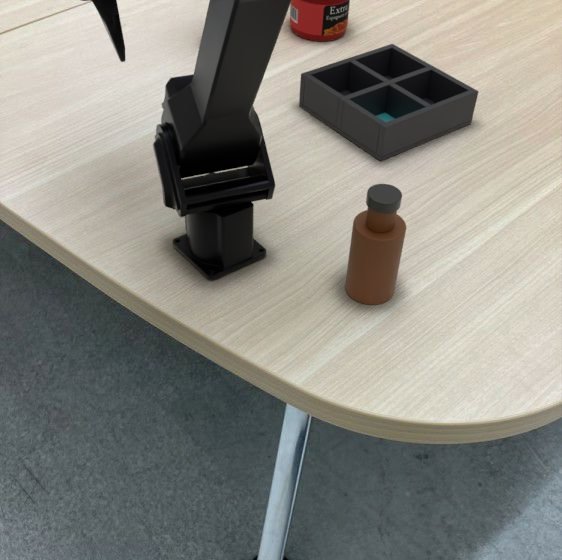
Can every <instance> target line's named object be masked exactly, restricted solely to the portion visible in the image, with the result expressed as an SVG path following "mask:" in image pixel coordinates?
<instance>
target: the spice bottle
mask: <svg viewBox="0 0 562 560" xmlns="http://www.w3.org/2000/svg"><path fill="white" fill-rule="evenodd" d="M402 199H403V193H402V191H401V190H400V189H399V188H398V187H396V186H394V185H392V184H388V183H377V184H373V185H371V186H370V187H369V188H368V189H367V191H366V197H365V205H366V206H367V209H366V210H363V211H361V212H359V213H358V214H357V215H356V216H355V217H354V219H353V222H352V227H351V229H352V230H351V237H350V244H349V251H348V252H349V253H348V259H347V268H346V276H345V283H344V284H345V285H344V289H345V291H346V293H347V295H348V296H349V297H350V298H351V299H353V300H354V301H356V302H358V303H361V304H365V305H380V304H383V303H386V302H388V301H389V300H390V299H392V297H393V296H394V294H395V290H396V285H397V279H398V274H399V270H400V263H401V258H402V254H403V253H402V252H403V248H404V242H405V237H406V232H407V223H406V222H405V220H404V219H403V217H401V215H399V214H397V213H398V210H400V208H401V205H402Z"/></svg>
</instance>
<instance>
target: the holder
mask: <svg viewBox="0 0 562 560" xmlns="http://www.w3.org/2000/svg"><path fill="white" fill-rule="evenodd" d="M299 83H300V84H299V99H298V101H299V102H298V107H299V108H301V109H303V110H304V111H305V112H306V113H308V114H310V115H311V116H313V117H314V118H316V119H317V120H319V121H320V122H321V123H323V124H325V125H326V126H328V127H329V128H331V130H333V131H335V132H336V133H338V134H339V135H340V136H343V137H344V138H345V139H346V140H348V141H350V142H351V143H353V144H355V146H357V147H358V148H360V149H362V150H363V151H364V152H366V153H367V154H369V155H371V156H372V157H374V158H375V159H377V160H378V161H379V162H382V161H384V160H387V159H390V158H392V157H395V156H397V155H399V154H402V153H404V152H406V151H409V150H411V149H413V148H416V147H418V146H421V145H424V144H426V143H428V142H430V141H433V140H435V139H438V138H441V137H442V136H445V135H447V134H450V133H453V132H455V131H457V130H459V129H463V128H464V127H467V126H470V125H471V124H472V122H473V117H474V112H475V108H476V104H477V100H478V96H479V90H477V89H475V88H474V87H472V86H470V85H469V84H466V83H465V82H463V81H461V80H459V79H457V78H456V77H454V76H453V75H450V74H449V73H446V72H445V71H443V70H441V69H439V68H437V67H435V66H434V65H432V64H430V63H429V62H427V61H425V60H423V59H421V58H419V57H417V56H416V55H414V54H412V53H410V52H408V51H407V50H405V49H403V48H401V47H399V46H397V45H396V44H394V43H390V44H386V45H384V46H381V47H377V48H375V49H372V50H368V51H366V52H363V53H359V54H356V55H354V56H350V57H348V58H345V59H341V60H338V61H335V62H332V63H329V64H327V65H324V66H320V67H318V68H314V69H311V70H308V71H305V72H302V73H301V74H300V82H299Z"/></svg>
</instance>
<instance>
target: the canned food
mask: <svg viewBox="0 0 562 560" xmlns="http://www.w3.org/2000/svg"><path fill="white" fill-rule="evenodd" d="M350 3H351V0H292V1H291V3H290V6H289V24H290V25H289V26H290V29H291V31H292V32H293V33H294V34H295V35H296V36H298V37H300V38H302V39H306V40H310V41H314V42H315V41H316V42H329V41H335V40H338V39H339V38H341V37H343V36H344V35H345V33H346V31H347V29H348V24H349V23H348V22H349V14H350Z"/></svg>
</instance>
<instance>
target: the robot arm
mask: <svg viewBox="0 0 562 560" xmlns="http://www.w3.org/2000/svg"><path fill="white" fill-rule="evenodd" d="M80 1H82V2H88V1H89V2H92V4H93V6H94V7H95V9H96V11H97V13H98V15H99V17H100V19H101V22H102V24H103V26H104V29H105V30H106V33H107V35H108V37H109V40H110V41H111V44H112V47H113V48H114V51H115V53H116V55H117V57H118V60H119V61H120V62H121V63H125V62H126V44H125V39H124V34H123V28H122V23H121V17H120V12H119V5H118V1H117V0H80ZM291 1H292V0H209V2H208V6H207V11H206V16H205V21H204V25H203V29H202V34H201V38H200V43H199V47H198V52H197V57H196V60H195V61H196V62H195V66H194V70H193V73H192V74H187V75H181V76H174V77H170V78H169V79H168V81H167V82H166V83H165V89H164V90H165V91H164V99H163V102H162V103H161V107H162V109H163V110H162V113H161V116H160V117H161V119H160V123H158V124H157V125H156V127H155V135H154V141H153V143H152V149H153V153H154V157H155V162H156V166H157V170H158V175H159V179H160V184H161V190H162V200H163V204H164V207H165V208H169V209H172V210H173V211H174V210H175V211H176V213H177V215H178V217H179V218H183V217H184V224H185V231H186V233H185V234H182V235H180V236H178V237H175V238H173V240H172V247H174V248H175V250H177V251H178V252H179V253H180V254H181V255H182V256H183V257H184V258H185V259H186V260H187V262H189V263H190V264H191V265H192V266H193V267H194V268H195V269H197V271H198V272H200V273H201V274H202V275H203V276H204V277H205V279H208V280H210V281H211V280H212V281H213V280H215V279H218V278H220V277H222V276H225V275H227V274H229V273H231V272H234V271H236V270H238V269H241V268H242V267H245V266H247V265H250V264H251V263H254V262H257V261H258V260H260V259H263V258H265V257H266V256H267V248H265V246H263V245H262V244H261V243H260V242H258V241H257V240H256V239H255V238H254V213H255V211H254V209H255V208H254V207H255V205H254V203H253V202H259V201H264V200H266V201H268V200H272V199H273V197H274V193H275V189H276V181H275V177H274V172H273V169H272V165H271V164H272V163H271V160H270V157H269V156H270V155H269V153H268V148H267V145H266V140H265V137H264V132H263V128H262V125H261V120H260V118H259V115H258V113H257V112H256V110H255V107H254V104H255V101H256V99H257V95H258V93H259V91H260V88H261V85H262V82H263V79H264V76H265V73H266V71H267V68H268V66H269V63H270V60H271V58H272V55H273V52H274V49H275V46H276V45H277V41H278V39H279V36H280V33H281V31H282V28H283V25H284V23H285V19H286V17H287V14H288V11H289V10H290V3H291Z"/></svg>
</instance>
